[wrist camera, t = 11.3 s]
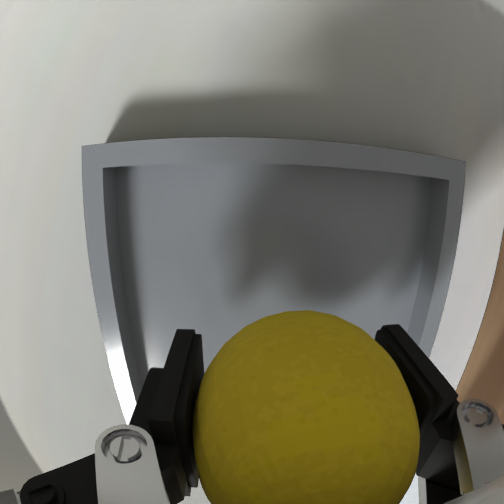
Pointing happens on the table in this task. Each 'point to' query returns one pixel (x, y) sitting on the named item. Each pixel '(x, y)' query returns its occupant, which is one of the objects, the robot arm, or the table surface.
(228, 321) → the gray tray
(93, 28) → the table surface
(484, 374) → the walnut wall
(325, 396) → the lemon
